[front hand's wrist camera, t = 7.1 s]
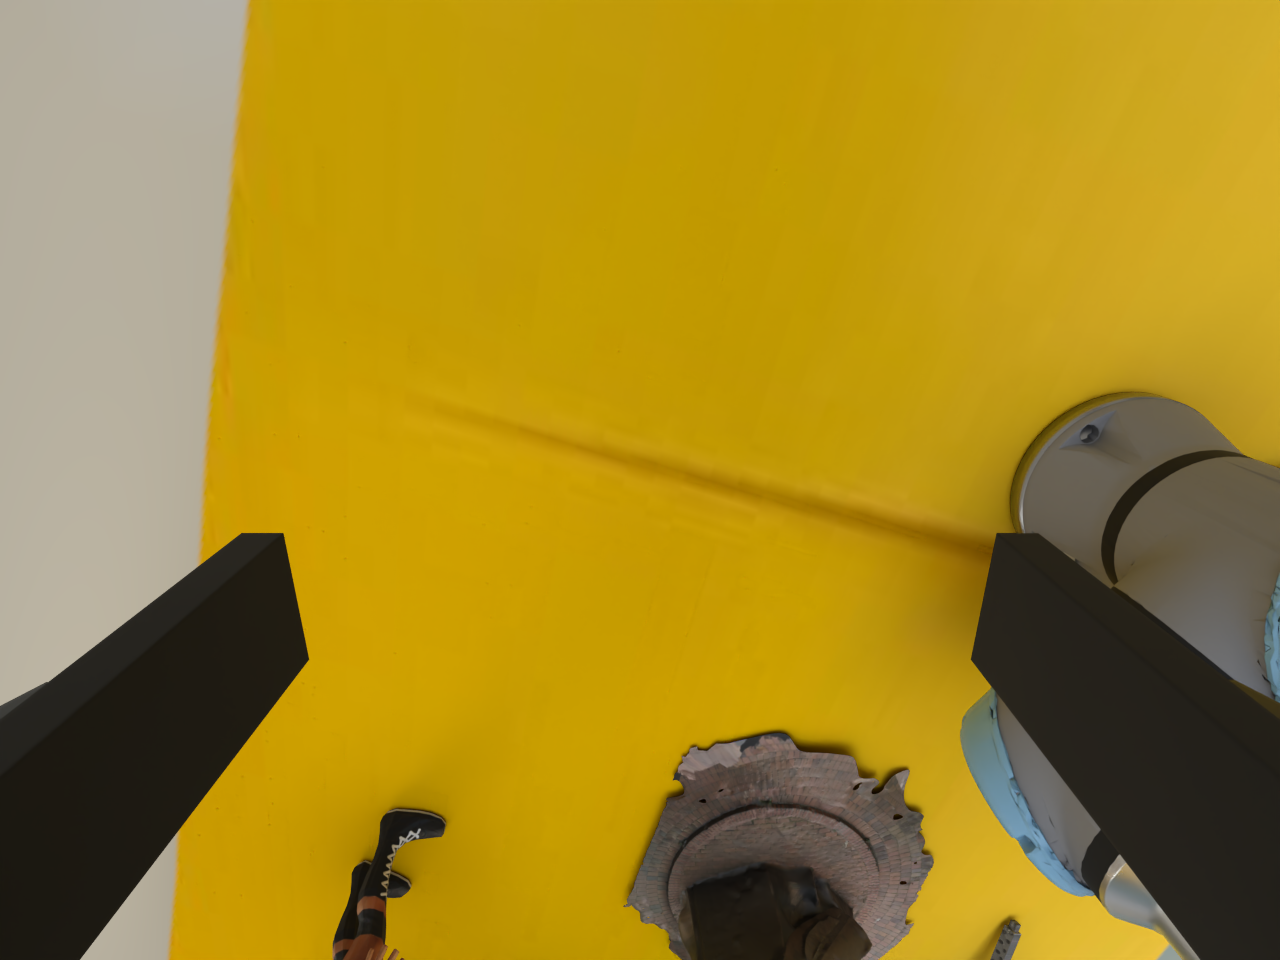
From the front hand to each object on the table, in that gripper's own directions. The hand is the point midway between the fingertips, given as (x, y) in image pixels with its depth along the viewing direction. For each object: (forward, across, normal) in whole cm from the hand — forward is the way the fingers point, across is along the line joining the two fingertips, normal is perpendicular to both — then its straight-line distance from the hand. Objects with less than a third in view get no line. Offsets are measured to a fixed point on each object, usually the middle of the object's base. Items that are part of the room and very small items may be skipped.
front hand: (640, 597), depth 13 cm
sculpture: (+39, +14, -55) cm, 69 cm away
